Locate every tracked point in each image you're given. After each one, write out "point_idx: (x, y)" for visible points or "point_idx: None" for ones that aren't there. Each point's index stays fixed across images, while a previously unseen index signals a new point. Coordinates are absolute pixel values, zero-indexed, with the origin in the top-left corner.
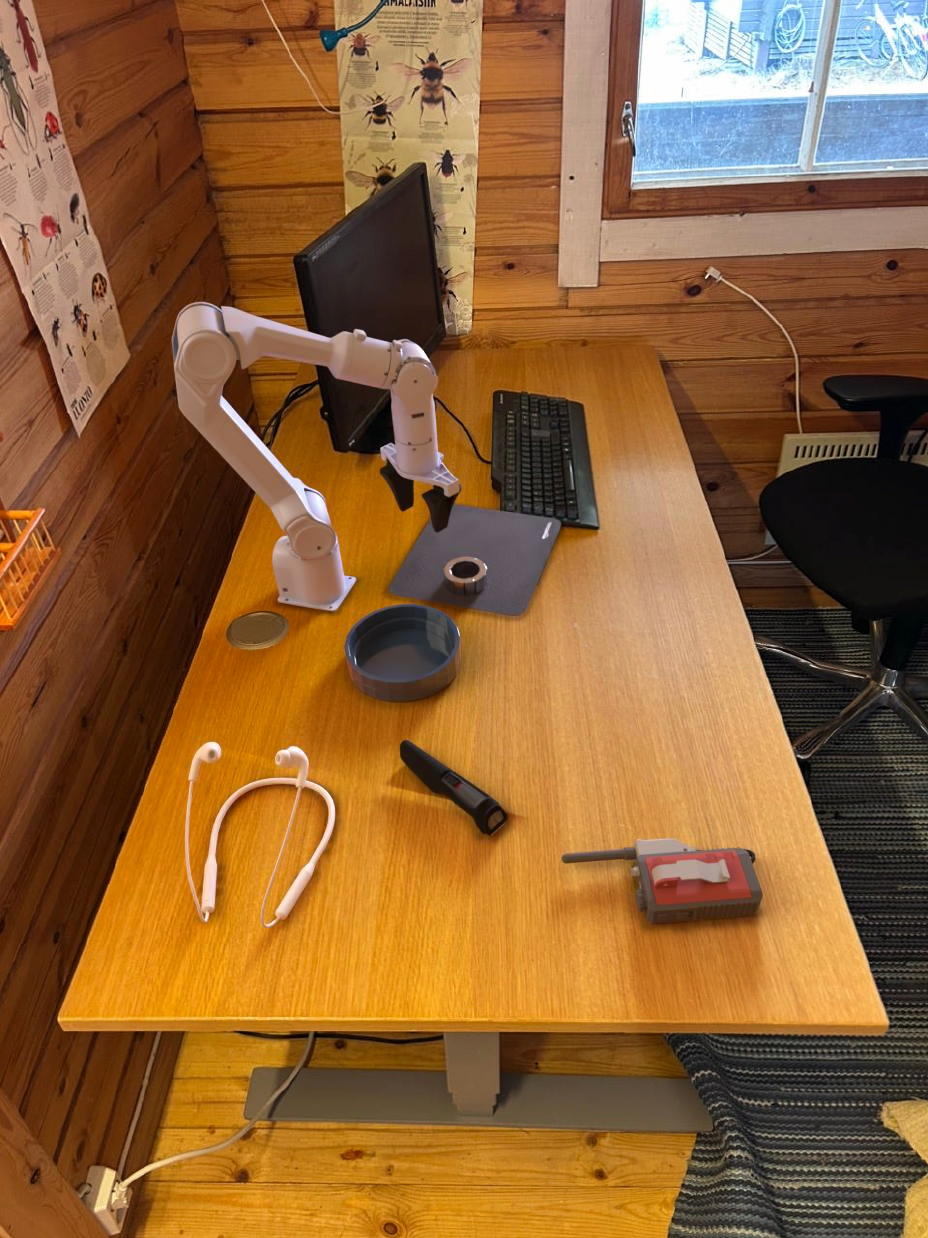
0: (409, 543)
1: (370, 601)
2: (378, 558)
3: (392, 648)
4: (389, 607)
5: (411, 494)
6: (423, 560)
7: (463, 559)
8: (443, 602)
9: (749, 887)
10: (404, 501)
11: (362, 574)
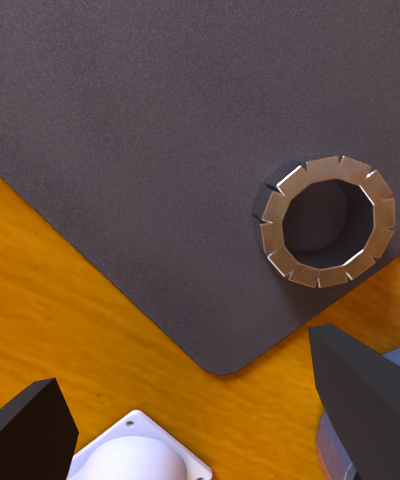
0: (57, 250)
1: (219, 408)
2: (81, 339)
3: None
4: (354, 467)
5: (9, 448)
6: (156, 261)
7: (282, 203)
8: (333, 297)
9: None
10: (46, 473)
11: (122, 388)
